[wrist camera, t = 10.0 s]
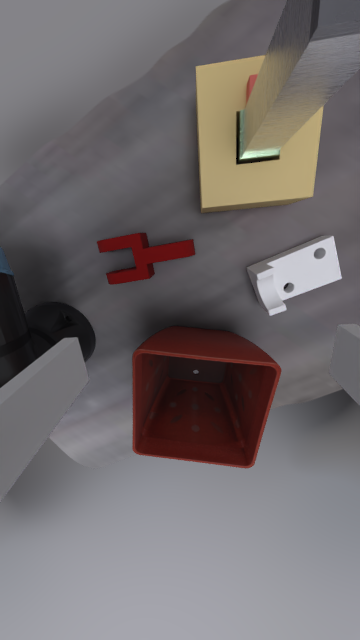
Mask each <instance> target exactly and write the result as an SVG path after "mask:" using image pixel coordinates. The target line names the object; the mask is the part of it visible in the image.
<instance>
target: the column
mask: <svg viewBox="0 0 360 640" xmlns="http://www.w3.org/2000/svg"><path fill="white" fill-rule="evenodd" d="M359 68H360V0H287V1H286V4H285V6H284V9H283V12H282V14H281V17H280V19H279V22H278V25H277V27H276V30H275V32H274V35H273V37H272V40H271V43H270V45H269V48H268V50H267V53H266V56H265V58H264V61H263V63H262V66H261V68H260V71H259V74H258V76H257V79H256V81H255V84H254V86H253V89H252V92H251V94H250V97H249V99H248V102H247V105H246V107H245V109H244V110H240V113H239V125H238V163H245V162H254V161H262V160H270V159H271V158H273V157H278V156H279V155H280V149H281V148H282V146H283V145H284V144H285V143H286V142H287V141H288V140H289V139H290V138H291V137H292V136H293V135H294V134H295V133H296V132H297V131H298V130H299V129H300V128H301V127H302V126H303V125H304V124H305V123H306V122H307V121H308V120H309V119H310V118H311V117H312V116H313V115H314V114H315V113H316V112H317V111H318V110H319V109H320V108H321V107H322V106H323V105H324V104H325V103H326V102H327V101H328V100H329V99H330V98H331V97H332V96H333V95H334V94H335V93H336V92H337V91H338V90H339V89H340V88H341V87H342V86H343V85H344V84H345V83H346V82H347V81H348V80H349V79H350V78H351V77H352V76H353V75H354V74H355V72H356V71H357V70H358V69H359Z"/></svg>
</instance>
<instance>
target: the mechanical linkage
mask: <svg viewBox="0 0 360 640" xmlns="http://www.w3.org/2000/svg"><path fill="white" fill-rule="evenodd" d="M97 244H98V248H99V251H100V253H101V252H107V251H112V250H118V249H123V248H129V247H131V248H132V252H133V256H134V260H135V264H136V267H132V268H127V269H121V270H116V271H112V272H109V273H106V275H107V279H108V282H109V284H119V283H126V282H132V281H138V280H144V279H150V278H151V277H152V276H153V275H154V274H155V272H154V268H153V263H155V262H161V261H167V260H173V259H178V258H184V257H189V256H192V255H195V249H194V242H193V239H192V240H186V241H180V242H175V243H169V244H164V245H158V246H153V247H149V244H148V240H147V235H146V233H137V234H132V235H126V236H121V237H116V238H111V239H106V240H101V241H97Z"/></svg>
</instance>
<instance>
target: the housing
mask: <svg viewBox="0 0 360 640" xmlns="http://www.w3.org/2000/svg"><path fill="white" fill-rule="evenodd" d="M265 56H266V55H263V56H257V57H251V58H244V59H238V60H232V61H226V62H220V63H214V64H208V65H202V66H196V116H197V138H198V160H199V182H200V204H201V213H208V212H218V211H228V210H238V209H248V208H258V207H268V206H278V205H288V204H291V203H294V202H298V201H301V200H304V199H307V198H310V197H313V190H314V182H315V173H316V165H317V156H318V148H319V139H320V131H321V122H322V114H323V106H322V107H321V108H320V109H319V110H318V111H317V112H316V113H315V114H314V115H313V116H312V117H311V118H310V119H309V120H308V121H307V122H306V123H305V124H304V125H303V126H302V127H301V128H300V129H299V130H298V131H297V132H296V133H295V134H294V135H293V136H292V137H291V138H290V139H289V140H288V141H287V142H286V143H285V144H284V145H283V146H282V148H281V149H280V155H279V156H278V157H273V158H271V159H270V160H262V162H255V163H247V164H239V165H236V138H238V125H239V113H240V110H244V109H245V107H246V105H247V102H248V99H249V97H250V94H251V92H252V89H253V86H254V84H255V81H256V79H257V76H258V74H259V71H260V68H261V66H262V63H263V61H264V58H265Z"/></svg>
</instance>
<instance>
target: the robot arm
mask: <svg viewBox="0 0 360 640" xmlns="http://www.w3.org/2000/svg"><path fill="white" fill-rule="evenodd" d="M13 276H14V273H13V272H12V271H11V269H10V267H9V264H8V262H7V259H6V256H5V254H4V251H3V249H2V248H1V247H0V502H1V501H2V499H3V498H4V497H5V495H6V494H7V493H8V491H9V490H10V488H11V487H12V486H13V484H14V483H15V482H16V480H17V479H18V477H19V476H20V475H21V473H22V472H23V471H24V469H25V468H26V466H27V465H28V464H29V462H30V461H31V460H32V458H33V457H34V456H35V454H36V453H37V451H38V450H39V449H40V447H41V446H42V445H43V443H44V442H45V440H46V439H47V438H48V436H49V435H50V434H51V432H52V431H53V430H54V428H55V427H56V425H57V424H58V423H59V421H60V420H61V419H62V417H63V416H64V414H65V413H66V412H67V410H68V409H69V408H70V406H71V405H72V403H73V402H74V401H75V399H76V398H77V397H78V395H79V394H80V393H81V391H82V390H83V388H84V387H85V386H86V384H87V383H88V382H89V376H88V373H87V369H86V366H85V362H86V361H87V360H88V359H89V358H90V356H91V355H92V353H93V351H94V348H95V335H94V331H93V329H92V327H91V325H90V323H89V322H88V320H87V319H86V318H85V317H84V316H83V315H82V314H81V313H80V312H79V311H77V310H76V309H74V308H72V307H70V306H68V305H66V304H62V303H57V302H47V303H43V304H40V305H38V306H36V307H34V308H32V309H30V310H29V311H27V312H26V313H25V314H24V310H23V307H22V304H21V301H20V297H19V294H18V291H17V287H16V284H15V281H14V277H13ZM329 374H330V375H331V376H332V377H333V378H334V379H335V380H336V381H337V382H338V383H339V384H340V385H341V387H342V388H343V389H345V391H346V392H347V393H348V394H349V395H350V396H351V397H352V398H353V399H354V400H355V401H356V402H357V403H358V404H359V405H360V326H358V325H356V324H342V325H338V327H337V333H336V338H335V343H334V349H333V354H332V359H331V364H330V370H329Z"/></svg>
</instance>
